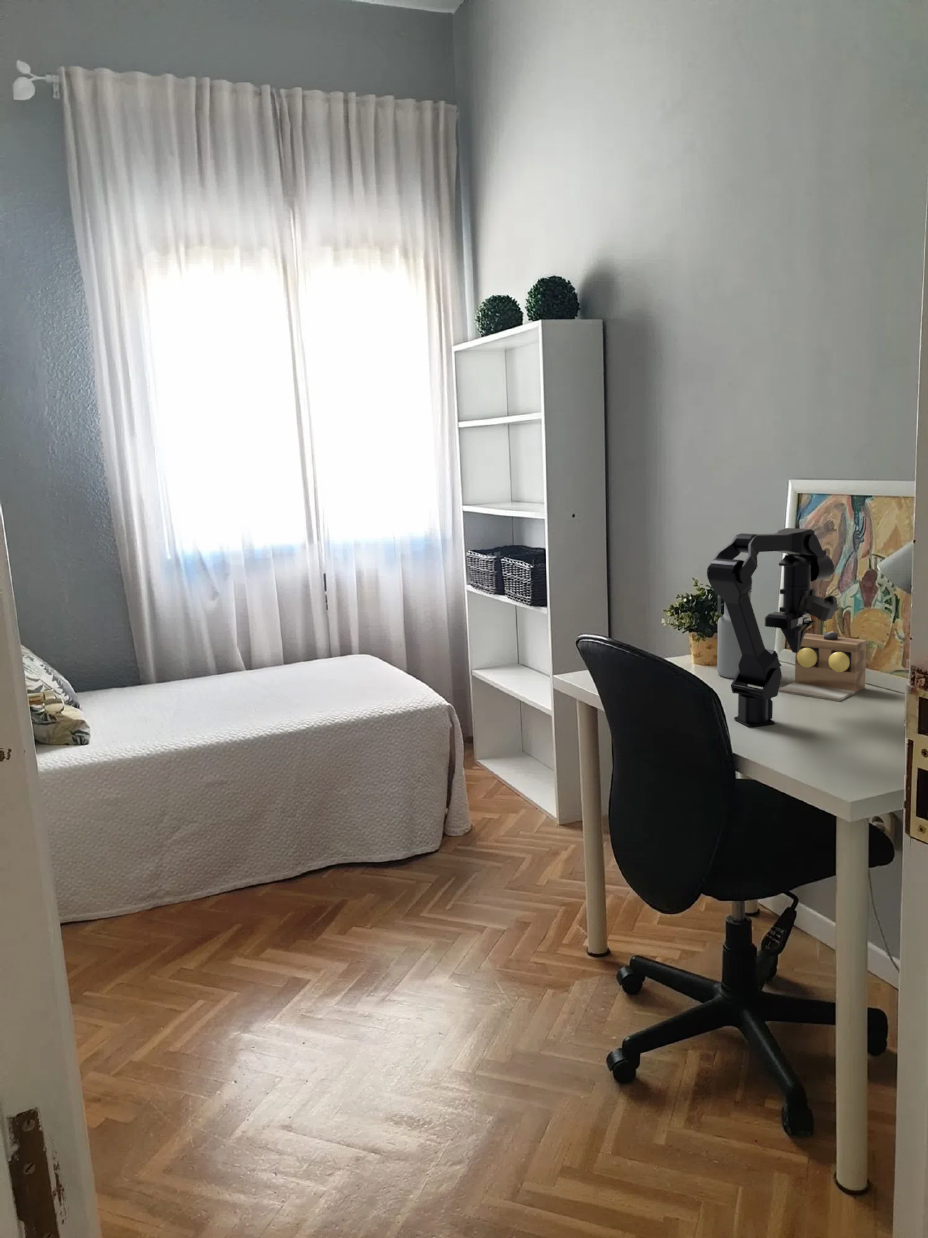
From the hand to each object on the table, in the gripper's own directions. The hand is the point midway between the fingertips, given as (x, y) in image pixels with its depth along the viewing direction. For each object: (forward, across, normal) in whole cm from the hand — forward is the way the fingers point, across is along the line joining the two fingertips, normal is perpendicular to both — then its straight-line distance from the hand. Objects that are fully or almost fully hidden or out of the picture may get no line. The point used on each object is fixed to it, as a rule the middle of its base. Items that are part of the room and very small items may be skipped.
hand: (795, 652), depth 217 cm
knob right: (+8, +22, -2) cm, 23 cm away
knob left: (+8, +22, +6) cm, 24 cm away
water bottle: (+13, +20, +26) cm, 35 cm away
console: (+13, +18, +2) cm, 22 cm away
